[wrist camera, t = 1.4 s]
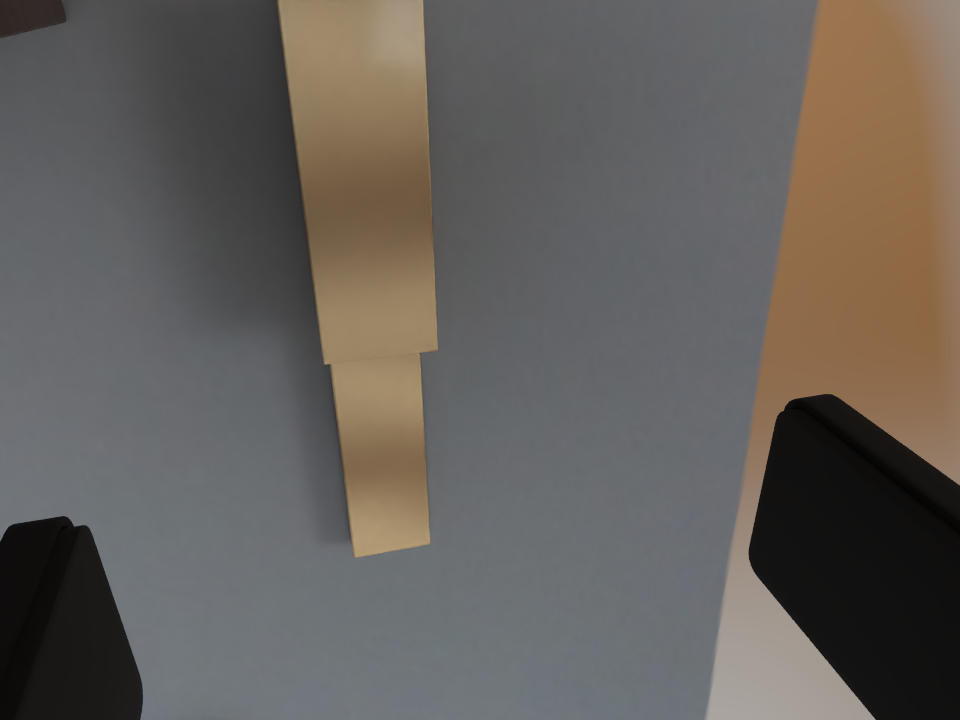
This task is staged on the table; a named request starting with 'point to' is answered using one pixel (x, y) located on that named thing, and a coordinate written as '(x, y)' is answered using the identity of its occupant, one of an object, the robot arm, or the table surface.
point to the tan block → (368, 244)
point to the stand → (29, 15)
